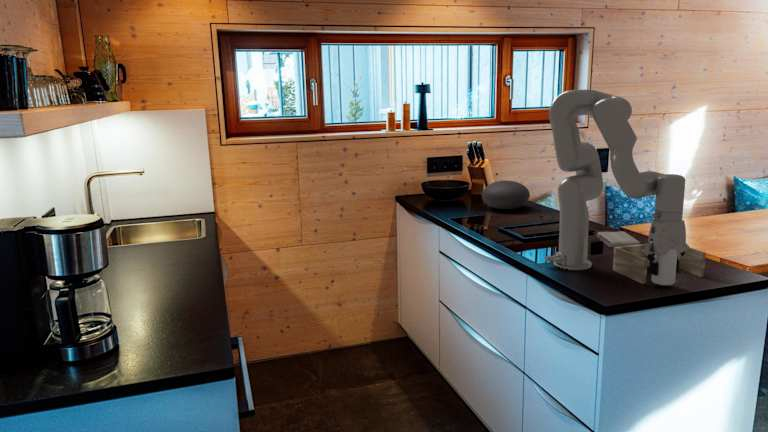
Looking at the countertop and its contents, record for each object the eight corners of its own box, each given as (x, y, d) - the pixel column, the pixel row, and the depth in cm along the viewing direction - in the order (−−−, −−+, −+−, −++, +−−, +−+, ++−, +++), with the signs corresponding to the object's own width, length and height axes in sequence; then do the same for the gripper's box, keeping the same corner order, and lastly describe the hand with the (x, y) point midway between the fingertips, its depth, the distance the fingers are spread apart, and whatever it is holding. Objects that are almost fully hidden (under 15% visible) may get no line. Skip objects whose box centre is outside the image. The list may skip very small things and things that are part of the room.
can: (677, 286, 167) (680, 247, 164) (654, 285, 168) (657, 247, 165) (671, 279, 173) (674, 242, 170) (648, 278, 174) (651, 241, 172)
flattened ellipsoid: (473, 211, 289) (473, 182, 286) (493, 202, 309) (493, 176, 306) (518, 215, 275) (519, 185, 272) (536, 206, 295) (537, 178, 292)
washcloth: (623, 236, 231) (623, 229, 231) (642, 248, 214) (642, 240, 213) (594, 237, 232) (595, 230, 231) (610, 249, 214) (611, 241, 213)
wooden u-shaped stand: (642, 284, 173) (644, 259, 172) (612, 269, 188) (613, 247, 186) (703, 276, 178) (705, 252, 176) (670, 263, 193) (671, 241, 191)
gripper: (651, 220, 160) (647, 279, 164) (702, 216, 164) (697, 273, 168) (634, 215, 168) (630, 272, 172) (683, 211, 171) (679, 266, 175)
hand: (663, 272), depth 170 cm, fingers closed on can, 6 cm apart
